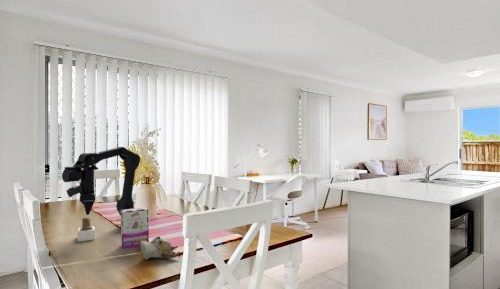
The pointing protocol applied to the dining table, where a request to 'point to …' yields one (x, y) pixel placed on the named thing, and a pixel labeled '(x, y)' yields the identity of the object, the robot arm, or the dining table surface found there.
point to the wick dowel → (85, 224)
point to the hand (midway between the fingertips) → (87, 212)
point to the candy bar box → (134, 227)
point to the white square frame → (86, 234)
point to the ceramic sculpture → (157, 249)
